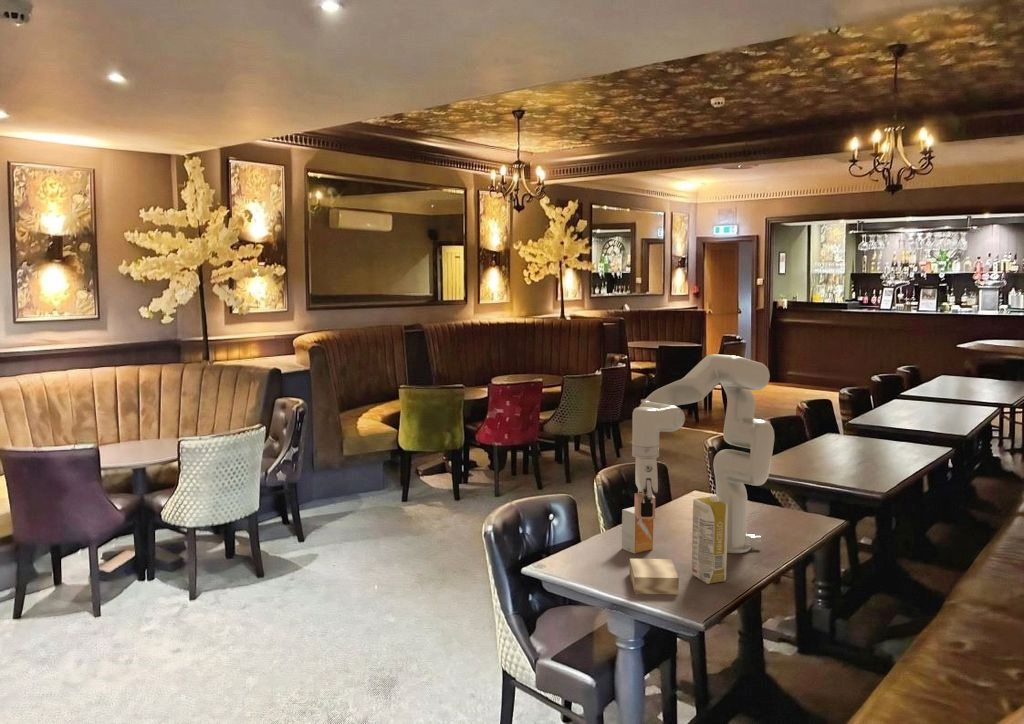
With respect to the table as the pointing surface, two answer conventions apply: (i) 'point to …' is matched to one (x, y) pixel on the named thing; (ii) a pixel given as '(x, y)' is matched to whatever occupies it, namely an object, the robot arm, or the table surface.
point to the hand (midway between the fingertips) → (644, 512)
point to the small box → (636, 532)
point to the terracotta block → (638, 506)
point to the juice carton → (709, 539)
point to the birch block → (654, 576)
